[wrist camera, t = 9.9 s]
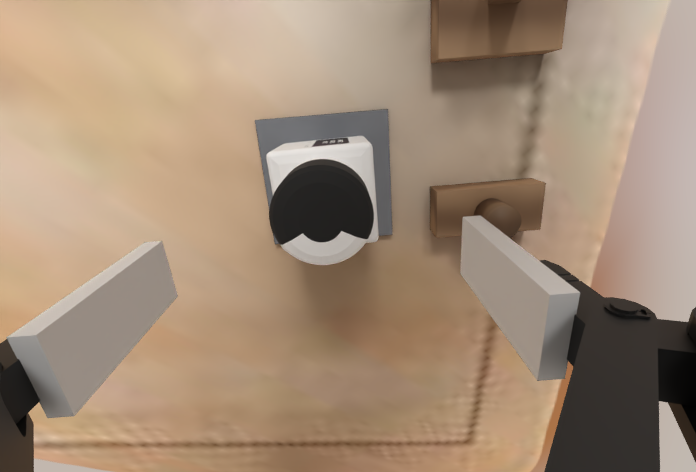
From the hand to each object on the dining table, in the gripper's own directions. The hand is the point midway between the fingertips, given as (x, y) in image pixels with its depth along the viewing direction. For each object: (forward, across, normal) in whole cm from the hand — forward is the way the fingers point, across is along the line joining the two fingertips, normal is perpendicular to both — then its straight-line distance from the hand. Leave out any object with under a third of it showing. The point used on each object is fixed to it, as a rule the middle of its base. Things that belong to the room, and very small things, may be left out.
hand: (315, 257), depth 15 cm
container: (+19, 0, 0) cm, 19 cm away
